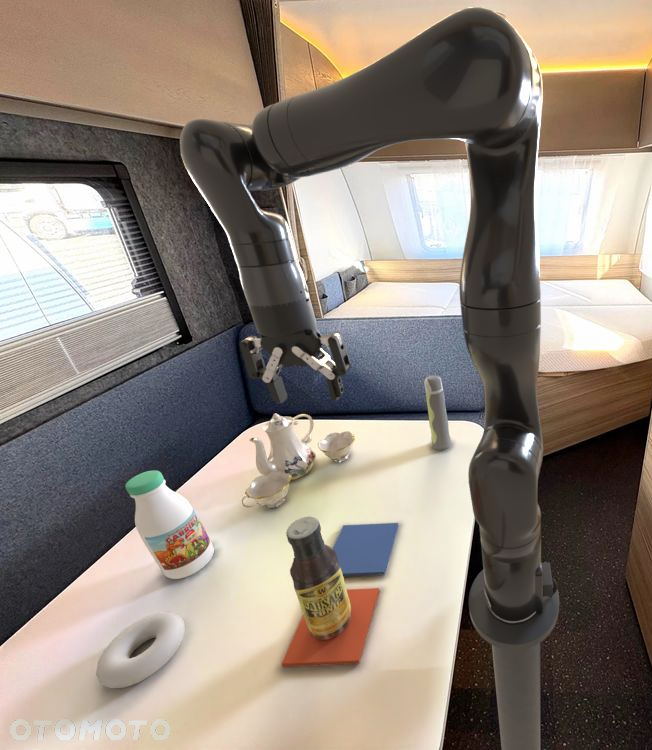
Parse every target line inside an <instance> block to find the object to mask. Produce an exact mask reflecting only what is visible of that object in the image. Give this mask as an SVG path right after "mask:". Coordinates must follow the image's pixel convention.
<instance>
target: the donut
mask: <svg viewBox="0 0 652 750" xmlns="http://www.w3.org/2000/svg"><path fill="white" fill-rule="evenodd" d="M185 628H186V624H185V620H184V619H183V618H182V617H181V616H180V615H179V614H177V613H174V612H170V611H163V612H156V613H152V614H150V615H146V616H145V617H143V618H141V619H139V620H137V621H135V622H133V623H132V624H130V625H129V626H127V627H126V628H124V629H123V630H122V631H121V632H120V633H118V634H117V635H116V636H115V637H114V638H113V639H112V640H111V642H109V643H108V645H107V646H106V647H105V649H104V650H103V651H102V653H101V655H100V656H99V659H98V661H97V664H96V672H95V675H96V677H97V680H98V682H99V684H100V685H101V686H103V687H106V688H108V689H121V688H122V689H123V688H127V687H130V686H133V685H135V684H139V683H140V682H142V681H144V680H146V679H147V678H149V677H150V676H153V675H154V674H155V673H157V672H158V671H159V670H160V669H162V667H163V666H165V665H166V664H167V663H168V662H169V661H170V659H171V658H172V657H173V656H174V655H175V653H177V650H178V649H179V647H180V646H181V644H182V643H183V639H184V637H185V633H186V629H185ZM151 639H154V641H153V643H152V644H151V645H150V646H149V647H148V648H147V649H146V650H144V651H143V652H142V653H140V654H138V655H136V656H134V657H131V656H132V654H133V653H134V651H135V650H136V649H138V648H139V647H140V646H141V645H142V644H144V643H145V642H147V641H149V640H151Z"/></svg>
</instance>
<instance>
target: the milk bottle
mask: <svg viewBox="0 0 652 750" xmlns="http://www.w3.org/2000/svg"><path fill="white" fill-rule="evenodd" d="M125 489H126V492H127V493H128V494H129V497H130V498H132V499H134V502H135V513H134V524H135V528H136V531H137V533H138V535H139V537H140V539H141V540H142V542H143V544H144V545H145V547H146V548H147V550H148V552H149V553H150V555H151V557H152V558H153V560H154V561H155V564H157V566H158V567H159V569H160V571H161V572H162V574H163V575H164V576H165V577H166V578H168V579H171V580H181V579H185V578H188V577H191V576H192V575H194V574H196V573H198V572H199V571H200V570H202V569H203V568H204V567H205V566H207V564H208V563H210V561H211V560H212V558H213V556H214V553H215V547H214V545H213V542H212V541H211V538H210V537H209V535H208V533H207V531H206V529H205V527H204V526H203V523H202V522H201V520H200V517H199V516H198V514H197V513H196V511H195V509H194V508H193V506H192V504H191V502H189V501H188V500H187V498H186V497H184V496H183V495H181V494H179V493H178V492H175V491H174V490H172V489H171V488H169V487H168V486H167V485H166V479H165V478H164V476H163V474H162V472H161V471H159V470H148V471H144V472H141V473H139V474H137V475H134V476H133V477H132V478H130V479H129V480H128V481H127V482H126V483H125Z"/></svg>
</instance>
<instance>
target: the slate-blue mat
mask: <svg viewBox="0 0 652 750" xmlns="http://www.w3.org/2000/svg"><path fill="white" fill-rule="evenodd" d="M398 528H399V523H398V522H387V523H364V524H344V525H342V526H341V530H340V531H339V534H338V536H337V538H336V541H335V543H334V545H333V547H332V549H333V550H335V551H336V555H337V559H338V562H339V564H340V567H341V571H342V574H343V578H345V577H346V578H347V577H367V576H368V577H369V576H370V577H371V576H385V574H386V570H387V568H388V563H389V560H390V557H391V553H392V549H393V546H394V543H395V539H396V536H397V532H398Z"/></svg>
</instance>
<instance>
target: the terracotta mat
mask: <svg viewBox="0 0 652 750" xmlns="http://www.w3.org/2000/svg"><path fill="white" fill-rule="evenodd" d="M347 593H348V597H349V601H350V604H351V617H350V621H349V624H348V625H347V627H346V628H345V629H344V630H343V631H342V632H341V633H340V634H339V635H337V636H336V637H333V638H332V639H328V640H318V639H316V638H315V637H313V636H312V634H311V632H310V630H309V629H308V626H307V623H306V621H305V618H304V615H303V614H302V617H301V619H300V621H299V623H298V625H297V628H296V630H295V632H294V634H293V636H292V639H291V641H290V643H289V645H288V647H287V650H286V652H285V655H284V657H283V659H282V661H281V666H282V667H285V668H287V667H307V666H308V667H309V666H332V665H356V664H357V665H358V664H360V662H361V659H362V656H363V652H364V648H365V645H366V641H367V637H368V634H369V631H370V630H369V629H370V628H371V624H372V621H373V616H374V613H375V610H376V606H377V602H378V599H379V595H380V593H381V590H380V588H379V587H375V588H373V587H372V588H350V589H349V588H348V589H347Z"/></svg>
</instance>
